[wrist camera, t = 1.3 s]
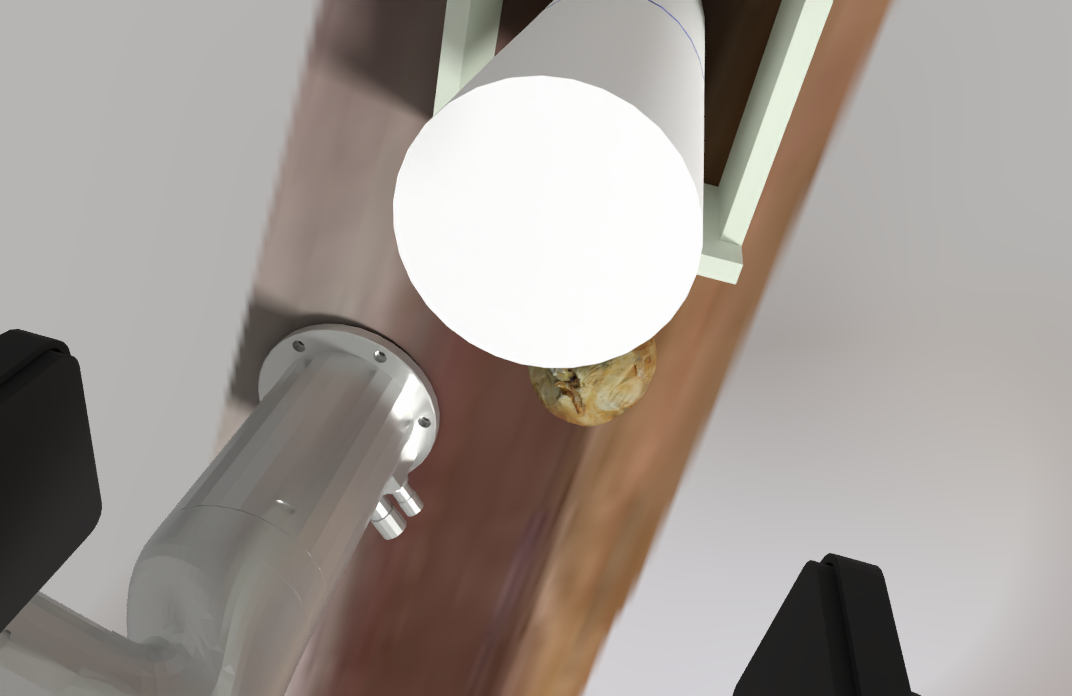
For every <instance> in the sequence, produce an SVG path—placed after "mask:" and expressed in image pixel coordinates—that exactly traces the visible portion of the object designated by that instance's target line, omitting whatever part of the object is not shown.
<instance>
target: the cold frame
mask: <svg viewBox="0 0 1072 696" xmlns="http://www.w3.org/2000/svg"><path fill="white" fill-rule="evenodd" d="M832 3H833V0H782V1H781V4H780V7H779V10H778V13H777V16H776V19H775V22H774V25H773V28H772V30H771V33H770V36H769V39H768V42H767V45H766V48H765V51H764V54H763V57H762V60H761V63H760V66H759V69H758V72H757V74H756V77H755V80H754V83H753V86H752V89H751V92H750V95H749V98H748V101H747V104H746V107H745V110H744V113H743V116H742V118H741V121H740V124H739V127H738V130H737V133H736V136H735V139H734V142H733V145H732V148H731V151H730V154H729V157H728V160H727V162H726V165H725V168H724V171H723V174H722V177H721V180H720V183H719V186H718V187H717V186H713V185H709V184H705V183H703V247H702V252H701V257H700V262H699V266H698V271H697V275H701V276H705V277H709V278H713V279H717V280H720V281H724V282H728V283H732V284H736V282H737V279H738V277H739V274H740V272H741V269H742V266H743V258H742V247H741V246H742V243H743V240H744V238H745V235H746V232H747V230H748V227H749V224H750V222H751V219H752V216H753V214H754V211H755V208H756V206H757V203H758V200H759V198H760V195H761V192H762V190H763V187H764V184H765V182H766V179H767V176H768V174H769V171H770V168H771V166H772V163H773V160H774V158H775V155H776V152H777V150H778V147H779V144H780V142H781V139H782V136H783V134H784V131H785V128H786V126H787V123H788V120H789V117H790V115H791V112H792V109H793V107H794V104H795V101H796V99H797V96H798V93H799V91H800V88H801V85H802V83H803V80H804V77H805V75H806V72H807V69H808V67H809V64H810V61H811V59H812V56H813V53H814V51H815V48H816V45H817V43H818V40H819V37H820V35H821V32H822V29H823V27H824V24H825V21H826V19H827V16H828V13H829V11H830V8H831V5H832ZM502 4H503V0H447V6H446V14H445V22H444V31H443V39H442V47H441V55H440V63H439V72H438V80H437V88H436V96H435V104H434V113H433V116H434V115H435V114H436V113H438V112H439V111H440V110H441V109H442V108H443V107H444V106H445V105H446V104H447V103H448V102H449V101H450V100H451V99H452V98H453V97H454V96H455V95H456V94H457V93H458V92H459V91H460V90H461V89H462V88H463V87H464V86H465V85H466V84H467V83H468V82H469V81H470V80H471V79H472V78H473V77H474V76H476V75H477V74H478V73H479V72H480V71H481V70H482V69H483V68H484V67H485V66H486V65H487V64H488V63H489V62H490V61H491V60H492V59H493V58H494V54H495V48H496V42H497V36H498V29H499V23H500V17H501V10H502Z"/></svg>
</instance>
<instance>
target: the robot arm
mask: <svg viewBox="0 0 1072 696" xmlns="http://www.w3.org/2000/svg"><path fill="white" fill-rule="evenodd" d="M258 392H259V400H260V403H259V404H258V406H257V407H256V408H255V409H254V411H253V412H252V413H251V414H250V416H249V417H248V418H247V419H246V420H245V422H244V423H243V424H242V425H241V427H240V428H239V429H238V430H237V432H236V433H235V434H234V435H233V436H232V438H231V439H230V440H229V441H228V443H227V444H226V445H225V446H224V448H223V449H222V450H221V451H220V452H219V454H218V455H217V456H216V457H215V459H214V460H213V461H212V462H211V464H210V465H209V466H208V467H207V468H206V470H205V471H204V472H203V473H202V475H201V476H200V477H199V478H198V480H197V481H196V482H195V483H194V484H193V486H192V487H191V488H190V489H189V491H188V492H187V493H186V495H185V496H184V497H183V498H182V499H181V500H180V502H179V503H178V504H177V505H176V507H175V508H174V509H173V510H172V512H171V513H170V514H169V515H168V517H167V518H166V519H165V520H164V521H163V522H162V524H161V525H160V526H159V527H158V529H157V530H156V531H155V532H154V534H153V535H152V536H151V538H150V539H149V540H148V542H147V543H146V545H145V546H144V548H143V550H142V551H141V553H140V555H139V557H138V560H137V562H136V564H135V566H134V570H133V573H132V576H131V580H130V584H129V591H128V599H127V638H126V637H124V636H122V635H120V634H118V633H116V632H114V631H112V632H111V631H109V630H107V629H106V628H104V627H102V626H100V625H99V624H97V623H95V622H93V621H91V620H90V619H88V618H86V617H84V616H82V615H81V614H79V613H77V612H75V611H74V610H72V609H70V608H68V607H66V606H65V605H63V604H61V603H59V602H58V601H56V600H54V599H52V598H50V597H49V596H47V595H45V594H43V593H41V592H40V591H39V590H40V589H41V588H42V587H43V585H44V584H45V583H46V582H47V581H48V580H49V579H50V577H52V576H53V574H54V573H55V572H56V571H57V570H58V569H59V568H60V567H61V566H62V565H63V563H64V562H65V561H66V560H67V559H68V558H69V557H70V556H71V555H72V553H73V552H74V551H75V550H76V549H77V548H78V547H79V546H80V545H81V544H82V542H83V541H84V540H85V539H86V538H87V537H88V536H89V535H90V533H91V532H92V531H93V530H94V528H95V526H96V525H97V523H98V520H99V518H100V515H101V510H102V502H101V495H100V489H99V483H98V478H97V471H96V465H95V459H94V453H93V446H92V440H91V434H90V428H89V421H88V416H87V409H86V403H85V397H84V391H83V384H82V378H81V372H80V366H79V363H78V360H77V359H76V358H75V357H73V356H71V354H70V351H69V348H68V346H67V345H66V344H65V343H64V342H62V341H59V340H56V339H52V338H49V337H45V336H42V335H38V334H34V333H31V332H27V331H24V330H20V329H14V330H9V331H7V332H5V333H3V334H1V335H0V696H284V694H285V692H286V690H287V687H288V685H289V683H290V680H291V678H292V676H293V673H294V671H295V669H296V667H297V665H298V663H299V661H300V659H301V657H302V654H303V652H304V650H305V648H306V646H307V644H308V642H309V640H310V638H311V636H312V634H313V632H314V630H315V628H316V626H317V624H318V622H319V620H320V618H321V616H322V614H323V612H324V610H325V608H326V606H327V604H328V602H329V600H330V598H331V596H332V594H333V592H334V590H335V588H336V586H337V584H338V582H339V580H340V578H341V576H342V574H343V572H344V571H345V569H346V567H347V565H348V563H349V561H350V559H351V557H352V555H353V553H354V551H355V549H356V547H357V545H358V543H359V541H360V539H361V537H362V535H363V533H364V531H365V529H366V527H367V525H368V523H369V521H370V519H371V522H372V523H373V525H374V526H375V527H376V528H377V530H378V531H379V532H380V534H381V535H382V536H383V538H384V539H387V540H389V539H393V538H395V537H397V536H398V535H399V534H400V533H402V532H403V530H404V529H405V527H406V524H407V522H406V521H405V519H404V518H403V517H402V515H401V514H400V513H399V511H398V510H397V509H396V507H395V506H394V505H393V503H391V502H390V501H389V500H388V498H387V497H386V496H385V494H393V495H394V497H395V498H396V499H397V502H398V504H399V505H400V506H401V508H402V509H403V510H404V512H405V513H406V515H407V516H413V515H416V514H417V513H418V512H420V511H421V509H422V508H423V502H422V501H421V500H420V498H419V497H418V495H417V494H416V493H415V491H414V490H413V489H411V487H410V486H409V485H408V483H407V482H408V476H407V475H408V473H409V472H411V471H412V470H413V469H415V468H416V467H417V466H418V465H420V464H421V463H422V462H423V460H424V459H425V458H426V456H427V455H428V454H429V453H430V450H431V448H432V446H433V444H434V442H435V440H436V437H437V433H438V429H439V416H440V412H439V407H438V402H437V398H436V395H435V393H434V391H433V388H432V386H431V384H430V382H429V380H428V379H427V377H426V376H425V374H424V373H423V371H422V370H421V368H420V367H419V366H418V365H417V364H416V363H415V362H414V361H413V360H412V359H411V358H410V357H409V356H408V355H407V354H406V353H405V352H403V351H402V350H401V349H400V348H398V347H397V346H396V345H394V344H393V343H391V342H389V341H388V340H386V339H384V338H382V337H381V336H379V335H377V334H374V333H372V332H369V331H366V330H364V329H361V328H357V327H353V326H348V325H343V324H318V325H311V326H307V327H304V328H301V329H298V330H296V331H293V332H292V333H290V334H289V335H287V336H286V337H284V338H283V339H282V340H281V341H280V342H279V343H278V344H277V345H276V346H275V347H274V348H273V349H272V350H271V352H270V353H269V354H268V356H267V357H266V359H265V360H264V362H263V365H262V368H261V370H260V373H259V382H258ZM733 696H921V695H919V694H916V693H914V692H911V689H910V684H909V680H908V676H907V672H906V668H905V663H904V660H903V655H902V651H901V646H900V642H899V638H898V634H897V630H896V625H895V621H894V617H893V613H892V608H891V604H890V600H889V596H888V592H887V587H886V583H885V579H884V576H883V573H882V570H881V569H880V568H879V567H878V566H876V565H872V564H868V563H865V562H861V561H858V560H854V559H851V558H847V557H843V556H840V555H836V554H831V553H829V554H827V555H826V556H825V557H824V558H823V559H822V561H821V562H820V563H819V562H816V561H811V560H810V561H808V562H807V563H806V564H805V566H804V567H803V569H802V571H801V573H800V574H799V576H798V578H797V580H796V582H795V583H794V585H793V587H792V589H791V590H790V592H789V594H788V595H787V597H786V599H785V601H784V603H783V604H782V606H781V608H780V610H779V611H778V613H777V615H776V617H775V618H774V620H773V622H772V624H771V625H770V627H769V629H768V631H767V633H766V634H765V636H764V638H763V639H762V641H761V643H760V645H759V646H758V648H757V650H756V652H755V653H754V655H753V657H752V659H751V661H750V662H749V664H748V666H747V667H746V669H745V671H744V673H743V674H742V676H741V678H740V680H739V682H738V683H737V685H736V687H735V690H734V693H733Z"/></svg>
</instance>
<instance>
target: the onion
mask: <svg viewBox="0 0 1072 696" xmlns="http://www.w3.org/2000/svg"><path fill="white" fill-rule="evenodd" d="M656 359H657V354H656V347H655V340H654V336H653V337H652V338H651V339H649V340H647V341H646V342H644V343H643V344H641V345H639V346H638V347H636V348H634V349H633V350H631V351H629V352H628V353H626V354H623V355H621V356H618V357H615V358H612V359H610V360H607V361H604V362H602V363H598V364H592V365H586V366H580V367H575V368H543V367H537V366H531V365H528V370H529V375H530V380H531V383H532V386H533V389H534V390H535V392H536V394H537V396H538V398H539V400H540V401H541V403H542V404H543V405H544V406H545V407H546V409H547V410H548V411H550V412H551V413H552V414H554V415H555V416H557V417H559V418H561V419H563V420H565V421H567V422H570V423H574V424H577V425H581V426H594V425H600V424H603V423H605V422H608V421H610V420H612V419H614V418H615V417H617V416H618V415H620V414H622V413H624V412H625V411H627V410H628V409H629V408H631V407H632V406H634V405H635V404H636V403H637V402H638V401H639V399H640V398H641V397H642V395H643V394H644V393H645V391H646V389H647V387H648V385H649V382H650V380H651V378H652V376H653V374H654V371H655V367H656Z"/></svg>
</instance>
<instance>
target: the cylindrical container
mask: <svg viewBox="0 0 1072 696" xmlns="http://www.w3.org/2000/svg"><path fill="white" fill-rule="evenodd" d="M704 72H705V16H704V11H703V6H702V1H701V0H553V1H552V2H551V3H550V4H549V5H548V6H547V7H546V8H545V9H544V10H543V11H542V12H541V13H540V14H539V15H538V16H537V17H536V18H535V19H534V20H533V21H532V22H531V23H530V24H529V25H528V26H527V27H526V28H525V29H524V30H522V31H521V32H520V33H519V34H518V35H517V36H516V37H515V38H514V39H513V40H512V41H511V42H510V43H509V44H508V45H507V46H506V47H505V48H503V49H502V50H501V51H500V52H499V53H498V54H497V55H496V56H495V57H494V58H493V59H492V60H491V61H490V62H489V63H488V64H487V65H486V66H485V67H484V68H483V69H482V70H481V71H480V72H479V73H478V74H477V75H476V76H474V77H473V78H472V79H471V80H470V81H469V82H468V83H467V84H466V85H465V86H464V87H463V88H462V89H461V90H460V91H459V92H458V93H457V94H456V95H455V96H454V97H453V98H452V99H451V100H450V101H449V102H448V103H447V104H446V105H445V106H444V107H443V108H442V109H441V110H440V111H439V112H438V113H436V114H435V115H434V116H433V117H432V118H431V119H430V120H429V121H428V122H427V123H426V124H425V125H424V127H423V128H422V130H421V131H420V133H419V134H418V136H417V137H416V139H415V140H414V142H413V143H412V145H411V146H410V147H409V149H408V151H407V153H406V156H405V159H404V161H403V164H402V166H401V169H400V171H399V174H398V177H397V183H396V189H395V195H394V200H393V212H394V231H395V235H396V240H397V245H398V249H399V254H400V257H401V259H402V261H403V264H404V266H405V268H406V271H407V273H408V275H409V278H410V280H411V282H412V283H413V285H414V286H415V288H416V289H417V291H418V292H419V294H420V295H421V297H422V298H423V300H424V301H425V303H426V304H427V306H428V307H429V308H430V309H431V310H432V311H433V312H434V313H435V314H436V315H437V316H438V317H439V318H440V319H441V320H442V321H443V322H444V323H445V324H446V325H447V326H448V327H449V328H450V329H452V330H453V331H454V332H456V333H457V334H459V335H460V336H461V337H463V338H464V339H465V340H467V341H468V342H469V343H471V344H473V345H475V346H477V347H479V348H481V349H483V350H485V351H487V352H489V353H491V354H493V355H495V356H498V357H501V358H504V359H507V360H510V361H513V362H516V363H519V364H525V365H531V366H537V367H543V368H575V367H580V366H586V365H592V364H598V363H602V362H604V361H607V360H610V359H612V358H615V357H618V356H621V355H623V354H626V353H628V352H629V351H631V350H633V349H634V348H636V347H638V346H639V345H641V344H643V343H644V342H646V341H647V340H649V339H651V338H652V337H653V336H654V335H655V334H656V333H657V332H658V331H659V330H660V329H661V328H662V327H663V326H665V325H666V324H667V323H668V322H669V321H670V320H671V319H672V317H673V316H674V315H675V313H676V312H677V310H678V309H679V307H680V306H681V304H682V303H683V302H684V300H685V299H686V297H687V295H688V293H689V291H690V288H691V286H692V284H693V281H694V279H695V277H696V274H697V271H698V266H699V262H700V257H701V252H702V247H703V179H704Z"/></svg>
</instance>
